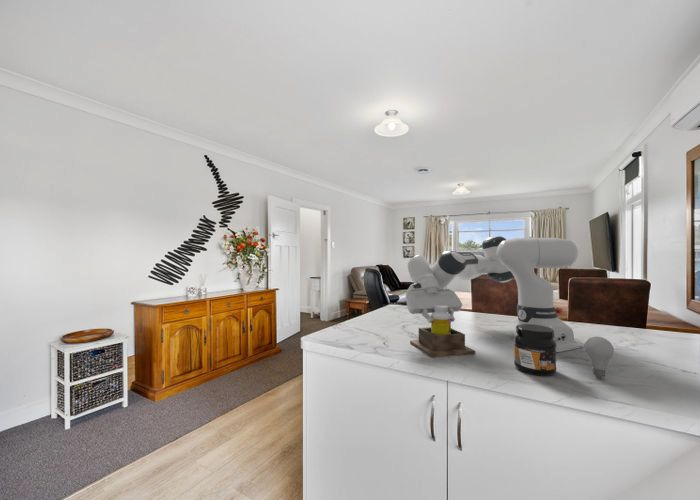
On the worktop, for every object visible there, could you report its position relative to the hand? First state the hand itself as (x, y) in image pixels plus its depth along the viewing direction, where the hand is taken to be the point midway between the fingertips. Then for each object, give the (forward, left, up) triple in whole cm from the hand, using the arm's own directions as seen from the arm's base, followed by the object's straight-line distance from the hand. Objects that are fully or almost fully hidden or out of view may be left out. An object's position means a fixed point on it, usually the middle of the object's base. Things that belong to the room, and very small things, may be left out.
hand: (441, 321), depth 108 cm
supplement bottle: (0, -1, -8) cm, 8 cm away
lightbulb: (-28, +32, -10) cm, 44 cm away
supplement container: (-16, +23, -10) cm, 30 cm away
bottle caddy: (0, -1, -9) cm, 9 cm away
